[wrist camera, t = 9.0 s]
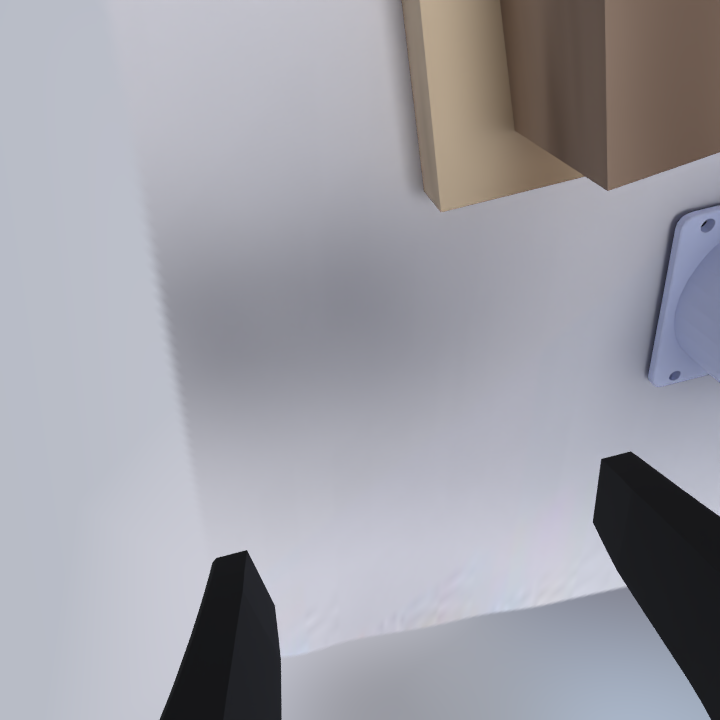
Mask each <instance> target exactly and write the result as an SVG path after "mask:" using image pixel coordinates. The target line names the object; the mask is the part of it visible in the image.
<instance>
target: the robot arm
mask: <svg viewBox="0 0 720 720" xmlns="http://www.w3.org/2000/svg"><path fill="white" fill-rule="evenodd" d="M706 220H707V222H706V224H705V225H704V226H703V227H701V226H702V224H703V223H704V222H705V221H706ZM709 374H710V375H711V376H712V377H713V378H715V379H716V380H717V381H718V382H719V383H720V205H718V206H714V207H710V208H706V209H702V210H698V211H694V212H690V213H688V214H686V215H684V216H683V217H682V218H681V219H680V220H679V222H678V223H677V225H676V228H675V233H674V239H673V244H672V250H671V255H670V260H669V266H668V271H667V277H666V282H665V288H664V293H663V299H662V304H661V309H660V315H659V320H658V326H657V331H656V337H655V342H654V348H653V353H652V358H651V364H650V369H649V375H648V380H649V381H650V382H651V383H652V384H653V385H654V386H656V387H662V386H666V385H670V384H674V383H678V382H682V381H686V380H689V379H693V378H697V377H701V376H705V375H709ZM593 523H594V525H595V527H596V530H597V532H598V534H599V536H600V538H601V540H602V542H603V544H604V546H605V548H606V550H607V552H608V554H609V556H610V558H611V560H612V562H613V564H614V565H615V567H616V569H617V571H618V573H619V574H620V576H621V577H622V579H623V581H624V582H625V584H626V585H627V587H628V588H629V590H630V591H631V593H632V595H633V596H634V598H635V599H636V601H637V602H638V604H639V605H640V607H641V608H642V610H643V612H644V613H645V614H646V616H647V617H648V619H649V621H650V622H651V624H652V625H653V627H654V628H655V630H656V631H657V633H658V634H659V636H660V637H661V639H662V640H663V642H664V644H665V645H666V646H667V648H668V649H669V651H670V652H671V654H672V655H673V657H674V659H675V660H676V662H677V663H678V665H679V666H680V668H681V670H682V671H683V672H684V674H685V676H686V677H687V679H688V680H689V682H690V684H691V685H692V687H693V688H694V690H695V692H696V693H697V695H698V697H699V699H700V700H701V702H702V704H703V705H704V707H705V709H706V711H707V713H708V715H709V717H710V718H711V720H720V516H718V515H717V514H715V513H714V512H713V511H711V510H710V509H708V508H707V507H706V506H704V505H703V504H701V503H700V502H699V501H697V500H696V499H695V498H693V497H692V496H690V495H689V494H688V493H686V492H685V491H684V490H682V489H681V488H680V487H678V486H677V485H675V484H674V483H673V482H671V481H670V480H669V479H667V478H666V477H665V476H663V475H662V474H661V473H659V472H658V471H657V470H655V469H654V468H653V467H651V466H650V465H649V464H647V463H646V462H645V461H643V460H642V459H641V458H639V457H638V456H637V455H635V454H634V453H632V452H627V453H623V454H619V455H615V456H611V457H608V458H604V459H601V465H600V473H599V480H598V488H597V495H596V503H595V510H594V518H593ZM160 720H281V657H280V648H279V638H278V629H277V621H276V612H275V605H274V603H273V601H272V599H271V597H270V595H269V593H268V591H267V589H266V587H265V585H264V583H263V581H262V579H261V577H260V575H259V573H258V571H257V569H256V567H255V565H254V563H253V561H252V559H251V557H250V555H249V553H248V551H247V550H246V551H242V552H238V553H234V554H230V555H226V556H223V557H219V558H216V559H215V560H214V562H213V563H212V567H211V570H210V574H209V578H208V582H207V585H206V589H205V592H204V596H203V599H202V603H201V606H200V609H199V612H198V615H197V618H196V621H195V624H194V628H193V631H192V634H191V637H190V640H189V643H188V645H187V648H186V651H185V654H184V657H183V660H182V662H181V665H180V668H179V671H178V674H177V676H176V679H175V682H174V685H173V687H172V690H171V693H170V695H169V698H168V700H167V703H166V705H165V708H164V710H163V713H162V715H161V718H160Z"/></svg>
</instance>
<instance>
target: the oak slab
mask: <svg viewBox="0 0 720 720" xmlns="http://www.w3.org/2000/svg"><path fill="white" fill-rule="evenodd" d="M402 8H403V16H404V25H405V33H406V42H407V50H408V59H409V67H410V76H411V84H412V93H413V101H414V110H415V118H416V127H417V136H418V144H419V153H420V161H421V170H422V178H423V187H424V192H425V193H426V194H427V195H428V197H429V198H430V199H431V200H432V202H433V203H434V204H435V205H436V207H437V208H438V209H439V210H440V212H445V211H449V210H453V209H457V208H461V207H465V206H469V205H473V204H477V203H481V202H485V201H489V200H493V199H497V198H501V197H505V196H509V195H513V194H517V193H521V192H525V191H529V190H533V189H537V188H541V187H545V186H549V185H553V184H557V183H561V182H565V181H569V180H573V179H577V178H581V177H585V176H584V175H582V174H581V173H579V172H578V171H576V170H575V169H573V168H572V167H570V166H569V165H567V164H565V163H564V162H562V161H561V160H559V159H558V158H556V157H555V156H553V155H552V154H550V153H549V152H547V151H545V150H544V149H542V148H541V147H539V146H538V145H536V144H535V143H533V142H532V141H530V140H528V139H527V138H525V137H524V136H522V135H521V134H519V133H518V132H516V131H515V128H514V120H513V111H512V102H511V93H510V85H509V76H508V67H507V59H506V50H505V41H504V32H503V24H502V15H501V6H500V0H402Z"/></svg>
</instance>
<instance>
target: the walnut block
mask: <svg viewBox="0 0 720 720" xmlns="http://www.w3.org/2000/svg"><path fill="white" fill-rule="evenodd" d="M500 6H501V15H502V24H503V32H504V41H505V50H506V59H507V67H508V76H509V85H510V93H511V102H512V111H513V120H514V128H515V131H516V132H518V133H519V134H521V135H522V136H524V137H525V138H527V139H528V140H530V141H532V142H533V143H535V144H536V145H538V146H539V147H541V148H542V149H544V150H545V151H547V152H549V153H550V154H552V155H553V156H555V157H556V158H558V159H559V160H561V161H562V162H564V163H565V164H567V165H569V166H570V167H572V168H573V169H575V170H576V171H578V172H579V173H581V174H582V175H584V176H586V177H587V178H589V179H590V180H592V181H593V182H595V183H596V184H598V185H599V186H601V187H603V188H604V189H606V190H607V191H609V190H612V189H615V188H617V187H620V186H623V185H626V184H629V183H632V182H635V181H638V180H641V179H644V178H646V177H649V176H652V175H655V174H658V173H661V172H664V171H667V170H670V169H673V168H675V167H678V166H681V165H684V164H687V163H690V162H693V161H696V160H699V159H701V158H704V157H707V156H710V155H713V154H716V153H719V152H720V0H500Z"/></svg>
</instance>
